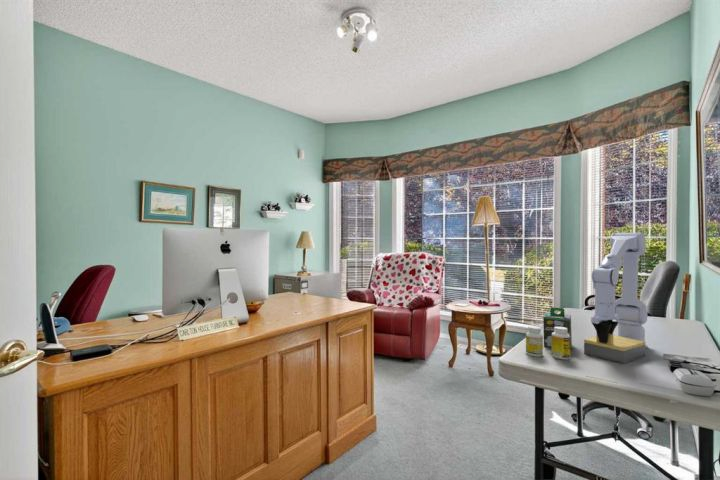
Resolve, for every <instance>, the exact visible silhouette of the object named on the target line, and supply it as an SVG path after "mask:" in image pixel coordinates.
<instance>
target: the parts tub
mask: <svg viewBox="0 0 720 480" xmlns="http://www.w3.org/2000/svg"><path fill="white" fill-rule="evenodd" d="M595 337H596V338H597V336H595ZM613 341H614V342H619V343H624V344H629V345H633V349H629V350H626V351H620V350H616V349H611V348H607V347H603V346H598V345H594V344H590V343H585V342H583V349H584V351H583V355H587V356H592V357H595V358H599V359H603V360H607V361H611V362H615V363H619V364H623V365H624V364H627V363H630V362H633V361H636V360H637V359H641V358H644V357H646V347H645V345H646V340H645V341H640V340H635V339H630V338H625V337H620V336H618V335H614V334H613Z"/></svg>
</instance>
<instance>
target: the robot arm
mask: <svg viewBox="0 0 720 480" xmlns="http://www.w3.org/2000/svg"><path fill="white" fill-rule="evenodd" d="M609 245H610V247H611V249H610V252H609V254H605V255H604V257H603V258H602V261H601V263H600V264H599V266H598V267H597V268H594V269H593V270H592V273H591V281H592V284H593V286H592V288H593V289H594V314H593V316H590V322H591V324H592V325H593V328H594V329H595V331H596V336H597V335H598V339H599V342H601V343H607V341H608V335H609V334H613V335H614V332H615V329H616V327H617V336H620V337H625V338H630V339H635V340H640V341H645V342H646V338H645V337H646V334H645V333H646V330H645V327H644V326H643V325H645V324H646V323H647V321H648V310H647V305H646V303H644V302H643V301H642V300H641V299H639V298H638V291H639V290H638V289H639V288H638V286H639V285H638V284H639V260H640V257H641V256H642V255H645V251H646V236H645V234H644V233H643V232H642V231H639V232H612V233H611V234H610V237H609ZM622 258H623V259H622ZM621 267H622V281H621V282H622V283H621V284H622V285H621V286H622V287H621V297H619V298H618V299H616V285H617V284H618V283H619V276H620V272H619V271H620V270H621ZM647 347H648V345H647V344H645V348H647Z"/></svg>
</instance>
